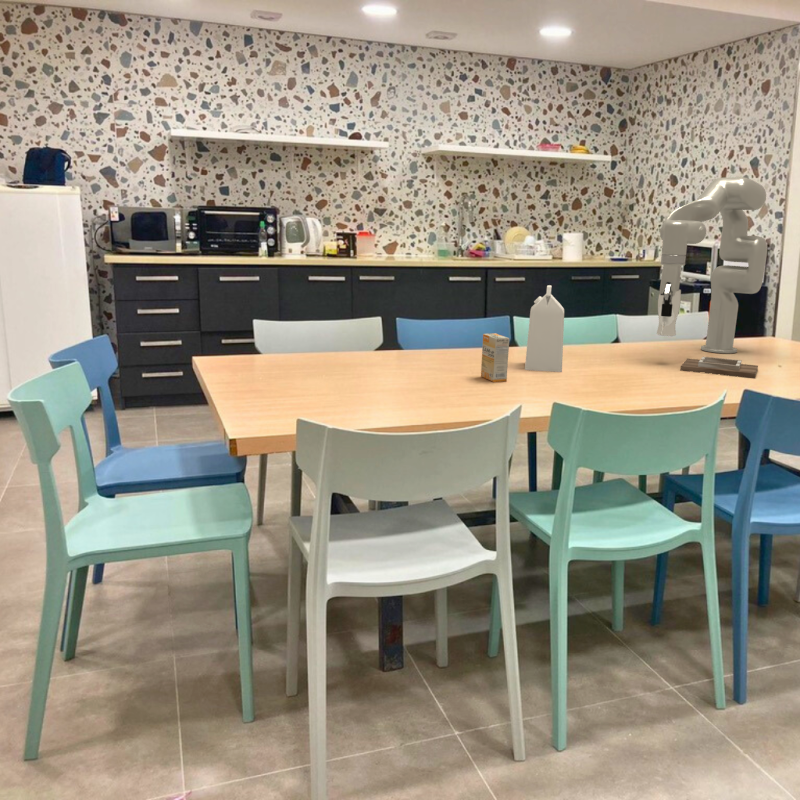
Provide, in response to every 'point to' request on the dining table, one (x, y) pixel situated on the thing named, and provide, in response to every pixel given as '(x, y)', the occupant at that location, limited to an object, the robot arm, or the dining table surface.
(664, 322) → the beer glass
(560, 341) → the milk
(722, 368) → the walnut board
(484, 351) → the supplement box
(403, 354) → the dining table surface
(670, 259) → the robot arm
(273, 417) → the dining table surface
